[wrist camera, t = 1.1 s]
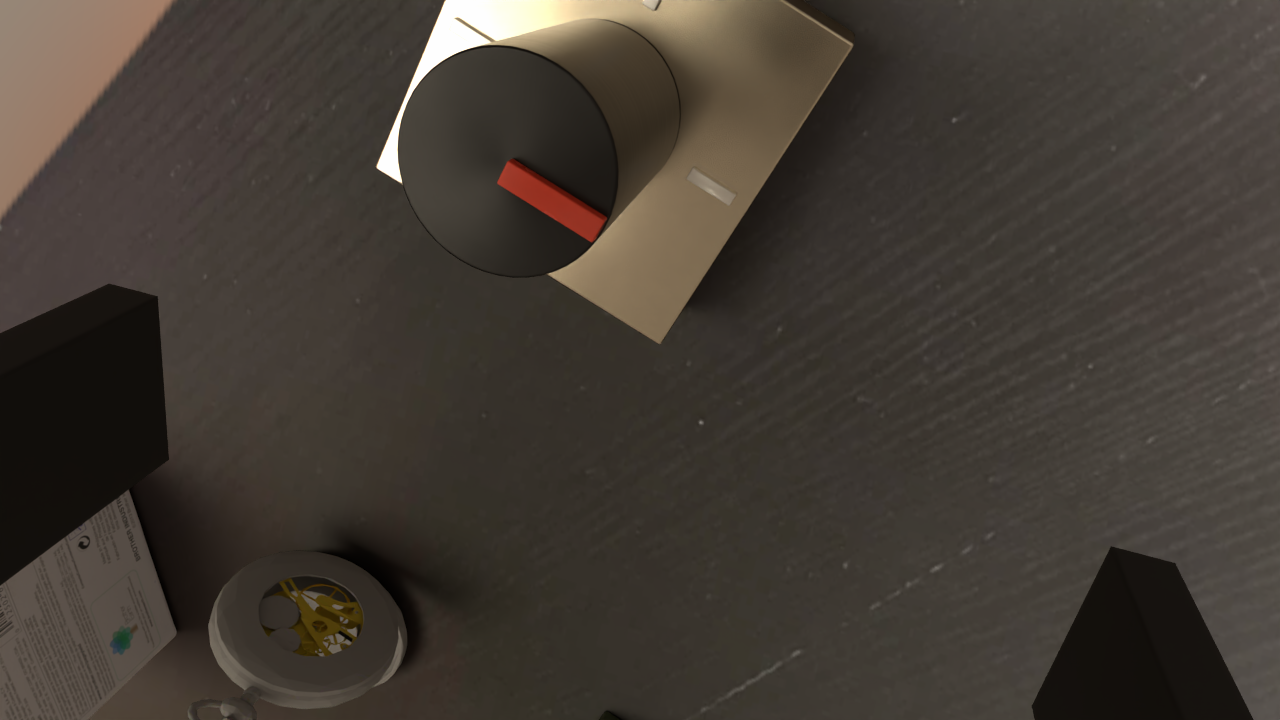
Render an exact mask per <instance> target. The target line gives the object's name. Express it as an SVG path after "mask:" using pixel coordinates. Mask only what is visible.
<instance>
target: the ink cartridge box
mask: <svg viewBox="0 0 1280 720" xmlns="http://www.w3.org/2000/svg"><path fill="white" fill-rule="evenodd" d="M176 633H177V632H176V628H175V626H174V623H173V620H172V617H171V614H170V611H169V608H168V605H167V602H166V599H165V596H164V593H163V590H162V587H161V584H160V581H159V579H158V576H157V573H156V570H155V567H154V564H153V561H152V558H151V555H150V552H149V549H148V546H147V543H146V540H145V537H144V534H143V531H142V527H141V524H140V521H139V518H138V515H137V512H136V509H135V506H134V503H133V500H132V498H131V495H130V492H129V490H127V491H126V492H125V493H123V494H122V495H121V496H119V497H118V498H117V499H115V500H114V501H113V502H111V503H110V504H109V505H107V506H106V507H105V508H103V509H102V510H101V511H99V512H98V513H97V514H95V515H94V516H93V517H91V518H90V519H89V520H87V521H86V522H85V523H83V524H82V525H81V526H79V527H78V528H77V529H75V530H74V531H73V532H71V533H70V534H69V535H67V536H66V537H65V538H63V539H62V540H61V541H59V542H58V543H57V544H55V545H54V546H53V547H51V548H50V549H49V550H47V551H46V552H45V553H43V554H42V555H41V556H39V557H38V558H37V559H35V560H34V561H33V562H31V563H30V564H29V565H27V566H26V567H25V568H23V569H22V570H21V571H19V572H18V573H17V574H15V575H14V576H13V577H11V578H10V579H9V580H7V581H6V582H5V583H3V584H2V585H1V586H0V720H88V719H89V718H90V717H91V716H92V715H93V714H94V713H96V712H97V711H98V710H99V709H100V708H101V707H102V706H103V705H104V704H105V703H106V702H107V701H108V700H109V699H110V698H111V697H112V696H113V695H114V694H115V693H116V692H117V691H119V690H120V689H121V688H122V687H123V686H124V685H125V684H126V683H127V682H128V681H129V680H130V679H131V678H132V677H133V676H134V675H135V674H136V673H137V672H138V671H139V670H140V669H142V668H143V667H144V666H145V665H146V664H147V663H148V662H149V661H150V660H151V659H152V658H153V657H154V656H155V655H156V654H157V653H158V652H159V651H160V650H162V649H163V648H164V647H165V646H166V645H167V644H168V643H169V642H170V641H171V640H172V639H173V638H174V637H176Z"/></svg>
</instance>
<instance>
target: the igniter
mask: <svg viewBox="0 0 1280 720" xmlns="http://www.w3.org/2000/svg"><path fill="white" fill-rule="evenodd" d="M599 720H620V719H619V718H617V717H616V716H614V715H612V714H611V713H609V712H607V711H605V712H604V714H603V715H602V716H601V717H600V719H599Z"/></svg>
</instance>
